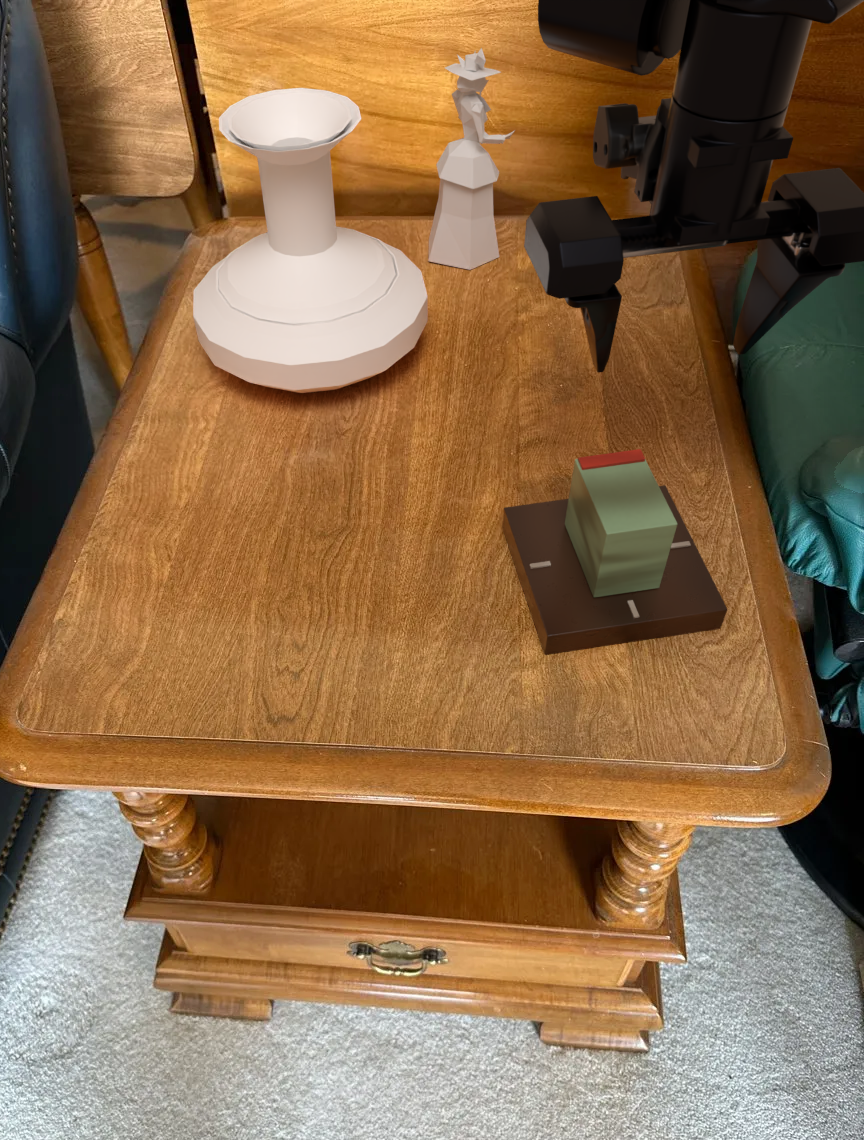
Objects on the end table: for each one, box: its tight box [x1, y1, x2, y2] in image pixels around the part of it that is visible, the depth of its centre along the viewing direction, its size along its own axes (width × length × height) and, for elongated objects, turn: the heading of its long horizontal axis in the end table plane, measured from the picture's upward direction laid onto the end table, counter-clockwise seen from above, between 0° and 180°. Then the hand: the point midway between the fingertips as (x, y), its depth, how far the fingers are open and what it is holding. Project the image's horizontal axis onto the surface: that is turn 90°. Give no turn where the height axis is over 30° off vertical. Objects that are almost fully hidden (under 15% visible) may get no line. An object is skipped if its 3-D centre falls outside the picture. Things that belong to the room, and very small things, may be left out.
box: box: [565, 448, 677, 597], centre depth 63 cm, size 7×4×6 cm, turn 9°
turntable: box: [501, 484, 728, 656], centre depth 66 cm, size 12×12×2 cm
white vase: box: [192, 87, 429, 394], centre depth 77 cm, size 20×20×19 cm
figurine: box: [427, 47, 516, 270], centre depth 86 cm, size 7×8×18 cm
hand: (668, 359), depth 60 cm, fingers open, 9 cm apart
